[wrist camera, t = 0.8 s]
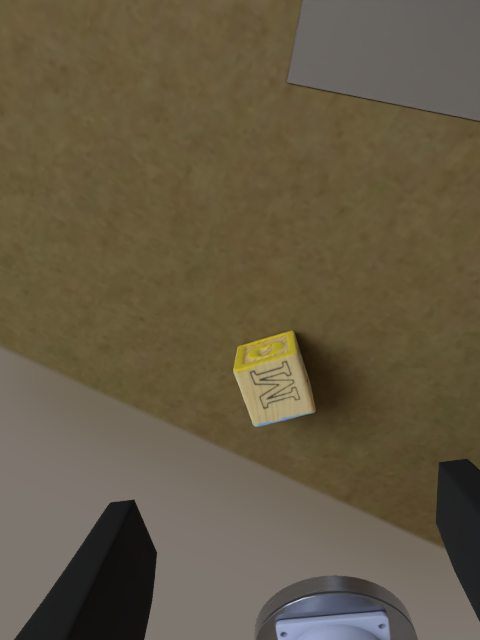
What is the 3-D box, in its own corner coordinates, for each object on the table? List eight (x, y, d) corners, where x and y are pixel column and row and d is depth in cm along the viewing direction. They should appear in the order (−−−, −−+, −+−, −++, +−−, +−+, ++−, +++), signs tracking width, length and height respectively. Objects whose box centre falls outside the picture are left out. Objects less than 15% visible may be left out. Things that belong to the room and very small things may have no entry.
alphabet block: (254, 397, 22) (253, 430, 19) (235, 345, 21) (231, 372, 18) (310, 381, 21) (318, 413, 19) (293, 328, 21) (299, 352, 18)
